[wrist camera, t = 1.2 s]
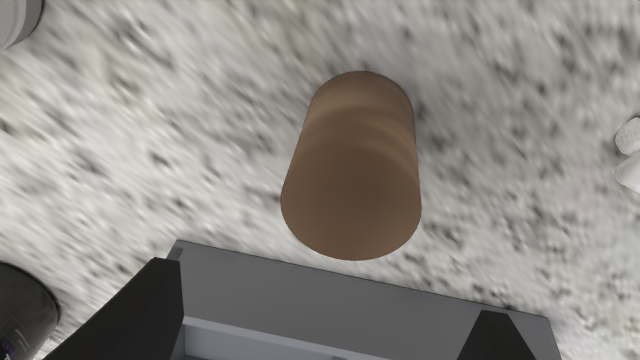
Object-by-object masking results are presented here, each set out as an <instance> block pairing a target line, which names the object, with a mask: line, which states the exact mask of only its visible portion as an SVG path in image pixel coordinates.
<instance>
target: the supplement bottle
mask: <svg viewBox="0 0 640 360" xmlns="http://www.w3.org/2000/svg"><path fill="white" fill-rule="evenodd" d="M57 320H58V313H57V308H56V305H55V302H54V300H53V299H52V297H51V296H50V294H49V293H48V292H47V291H46V289H45V288H44V287H43V286H42V285H40V284H39V283H38V282H37V281H36V280H34V279H33V278H31V277H30V276H28V275H27V274H25V273H23V272H21V271H19V270H17V269H15V268H12V267H10V266H7V265H4V264H0V360H33V358H34V357H35V356H36V354H37V353H38V351H39V350H40V349H41V347H42V346H43V345H44V343H45V342H46V340H47V339H48V338H49V336H50V335H51V333H52V332H53V330H54V328H55V327H56V324H57Z"/></svg>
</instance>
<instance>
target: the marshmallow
mask: <svg viewBox="0 0 640 360" xmlns="http://www.w3.org/2000/svg"><path fill="white" fill-rule="evenodd" d="M615 142H616V144H617V146H618V148H619V150H620V151H621V152H622V153H623V154H625V155H627V156H629V158H628V159H626V160H625V161H623V162H622V163H621V164H620V165H619V166H618V167H617V168H616V172H615V179H616V181H617V182H618V183H620V184H622V185H624V186H626V187H628V188H630V189H632V190H634V191H636V192H638V193H640V118H638V117H635V118H633V119H631V120H630V121H628V122H627V123H626V124H625V125H624V126H623V127H622V128H621V129H620V130H619V131H618V133H617V135H616V138H615Z"/></svg>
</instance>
